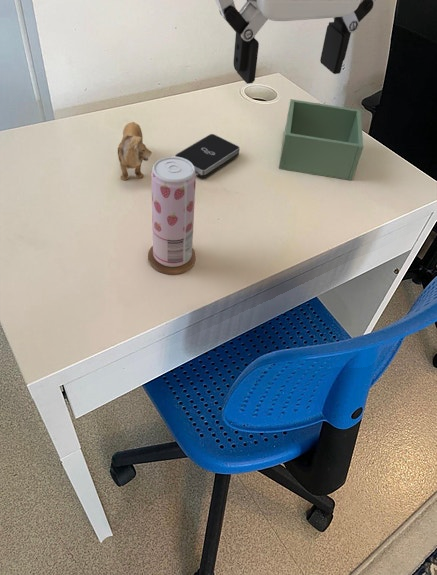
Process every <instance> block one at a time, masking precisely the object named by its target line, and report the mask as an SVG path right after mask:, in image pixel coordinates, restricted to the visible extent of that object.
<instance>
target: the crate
mask: <svg viewBox="0 0 437 575" xmlns="http://www.w3.org/2000/svg"><path fill="white" fill-rule="evenodd" d="M362 120H363V119H362V110H361V109H356V108H350V107H344V106H338V105H331V104H326V103H325V104H324V103H318V102H312V101H306V100H298V99H291V98H290V101H289V105H288V110H287V115H286V121H285V126H284V131H283V139H282V144H281V152H280V158H279V166H278V169H279V170H285V171H292V172H297V173H304V174H310V175H316V176H322V177H329V178H336V179H341V180H348V181H353V179H354V177H355V173H356V170H357V168H358V165H359V161H360V159H361V155H362V153H363V150H364V137H363V122H362Z"/></svg>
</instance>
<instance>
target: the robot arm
mask: <svg viewBox="0 0 437 575" xmlns="http://www.w3.org/2000/svg"><path fill="white" fill-rule="evenodd" d="M375 1H377V0H246V2H245V3H244V4H243V6H242V7H241V8H240V10H239V11H238V9H237V8H236V4H235V1H234V0H215V3H216V5H217V7H218V11H219V14H220V16H221V17H222V18H223V19H224V20H225V21H226V22H227V24H228V25H229V26H230V27H231V29H232V30H233V31H234V32H235V37H234V38H235V39H234V40H235V41H234V49H233V50H234V53H233V67H234V70H235V71H236V73H237V75H239V76H240V78H241V79H242V80H243V82H245V84H246V85H249V84H253V83H254V82H256V81H255V80H256V74H257V64H258V55H259V47H260V44H259V41H258V40H257V39H256V38H255V37H256V35H257V34H258V33H259V31H260V30H261V29H262V28H263V26H264V25H265V24H266V23H267V22H268V20H269V21H273V22H291V21H292V22H293V21H295V22H296V21H309V20H320V19H333V21H330V22H328V25H327V26H326V31H325V34H324V41H323V45H322V49H321V50H322V51H321V55H320V59H319V60H320V64H321V65H323V67H325V68H326V69H327V70H328V71H329V72H331V73H332V74H333V75H337V74H338V75H339V74H341V72H342V67H343V64H344V61H345V58H346V55H347V51H348V47H349V44H350V40H351V39H350V38H351V34H352V33H355V32H356V31H357V30H358V29H359V27H360V22H361V21H363V19H364V18H365V17H366V16H367V15H368V14H369V13H370V12H371V11H372V10H373V8H374V2H375Z"/></svg>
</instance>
